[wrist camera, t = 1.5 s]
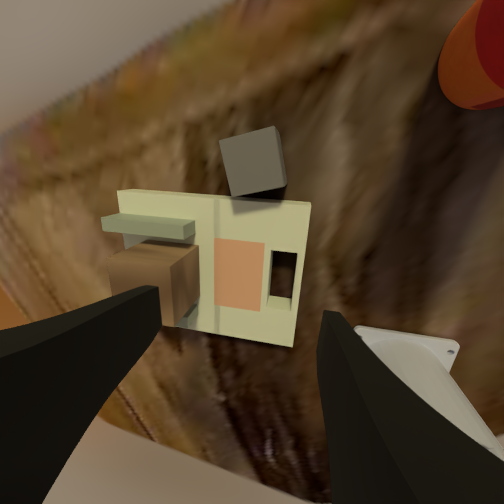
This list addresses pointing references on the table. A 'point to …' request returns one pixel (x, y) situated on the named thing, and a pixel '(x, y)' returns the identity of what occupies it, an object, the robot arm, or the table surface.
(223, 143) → the charcoal block
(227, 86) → the table surface
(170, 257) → the walnut block
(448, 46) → the paper cup
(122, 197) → the board
